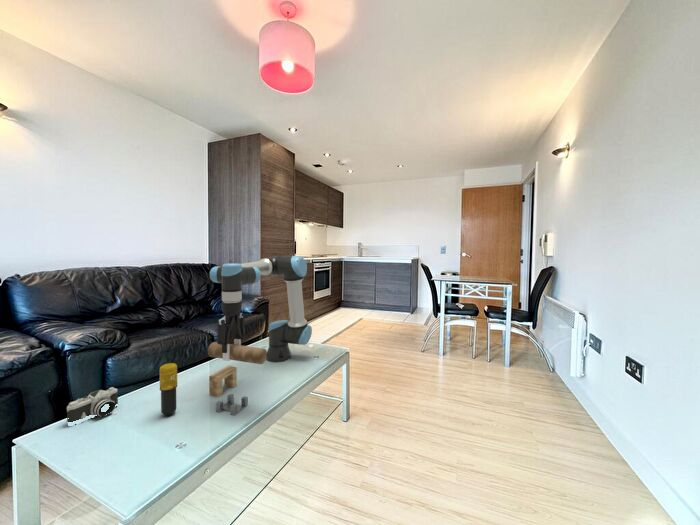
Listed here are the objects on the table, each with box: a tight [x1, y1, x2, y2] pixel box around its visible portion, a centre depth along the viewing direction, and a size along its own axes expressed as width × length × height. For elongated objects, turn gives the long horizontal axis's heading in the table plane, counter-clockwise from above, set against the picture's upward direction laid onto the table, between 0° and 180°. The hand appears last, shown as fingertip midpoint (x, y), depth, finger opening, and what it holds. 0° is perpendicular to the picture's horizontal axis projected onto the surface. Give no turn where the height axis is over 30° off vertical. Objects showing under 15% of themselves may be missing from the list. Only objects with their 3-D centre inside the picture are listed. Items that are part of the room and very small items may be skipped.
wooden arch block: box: [208, 365, 238, 398], centre depth 131 cm, size 5×12×9 cm, turn 163°
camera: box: [66, 386, 119, 423], centre depth 109 cm, size 16×9×10 cm, turn 157°
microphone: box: [159, 362, 178, 418], centre depth 111 cm, size 6×13×20 cm, turn 84°
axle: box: [207, 341, 268, 365], centre depth 113 cm, size 24×6×6 cm, turn 73°
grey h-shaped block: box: [215, 393, 249, 416], centre depth 115 cm, size 8×9×4 cm
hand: (231, 357), depth 114 cm, fingers closed on axle, 6 cm apart
